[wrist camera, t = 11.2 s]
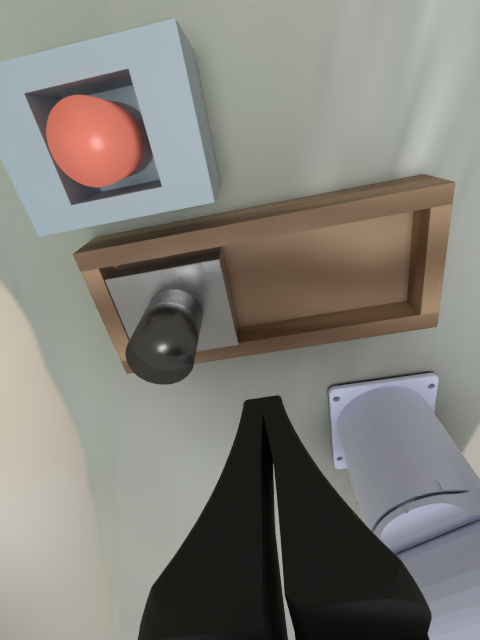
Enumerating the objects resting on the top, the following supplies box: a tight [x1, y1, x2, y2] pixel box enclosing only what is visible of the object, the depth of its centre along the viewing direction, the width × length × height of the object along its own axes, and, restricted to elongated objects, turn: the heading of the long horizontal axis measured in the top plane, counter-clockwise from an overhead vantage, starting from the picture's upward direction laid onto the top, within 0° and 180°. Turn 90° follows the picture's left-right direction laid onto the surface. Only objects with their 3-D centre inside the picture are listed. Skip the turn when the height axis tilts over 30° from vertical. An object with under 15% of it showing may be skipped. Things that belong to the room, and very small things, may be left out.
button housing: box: [0, 18, 221, 237], centre depth 15 cm, size 6×8×5 cm
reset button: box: [46, 95, 153, 187], centre depth 14 cm, size 3×3×4 cm
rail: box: [73, 174, 455, 374], centre depth 20 cm, size 8×19×3 cm, turn 101°
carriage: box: [105, 246, 239, 384], centre depth 17 cm, size 5×6×6 cm
